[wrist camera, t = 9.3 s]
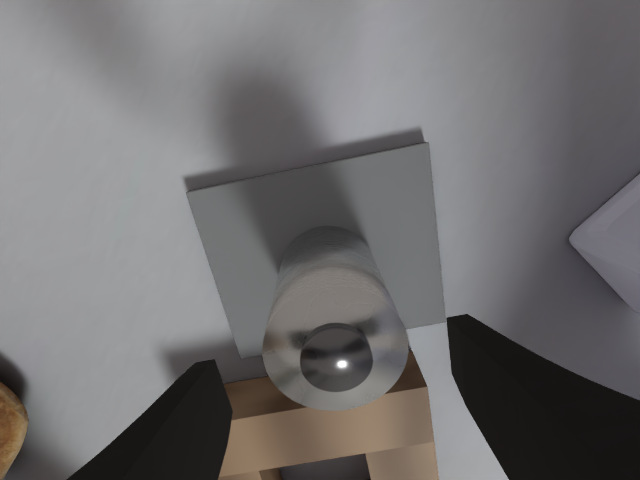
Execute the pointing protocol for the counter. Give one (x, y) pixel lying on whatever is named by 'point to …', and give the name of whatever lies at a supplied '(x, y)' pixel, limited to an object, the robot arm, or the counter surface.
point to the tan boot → (11, 428)
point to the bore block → (331, 431)
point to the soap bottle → (615, 242)
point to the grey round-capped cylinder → (333, 324)
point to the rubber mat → (323, 210)
